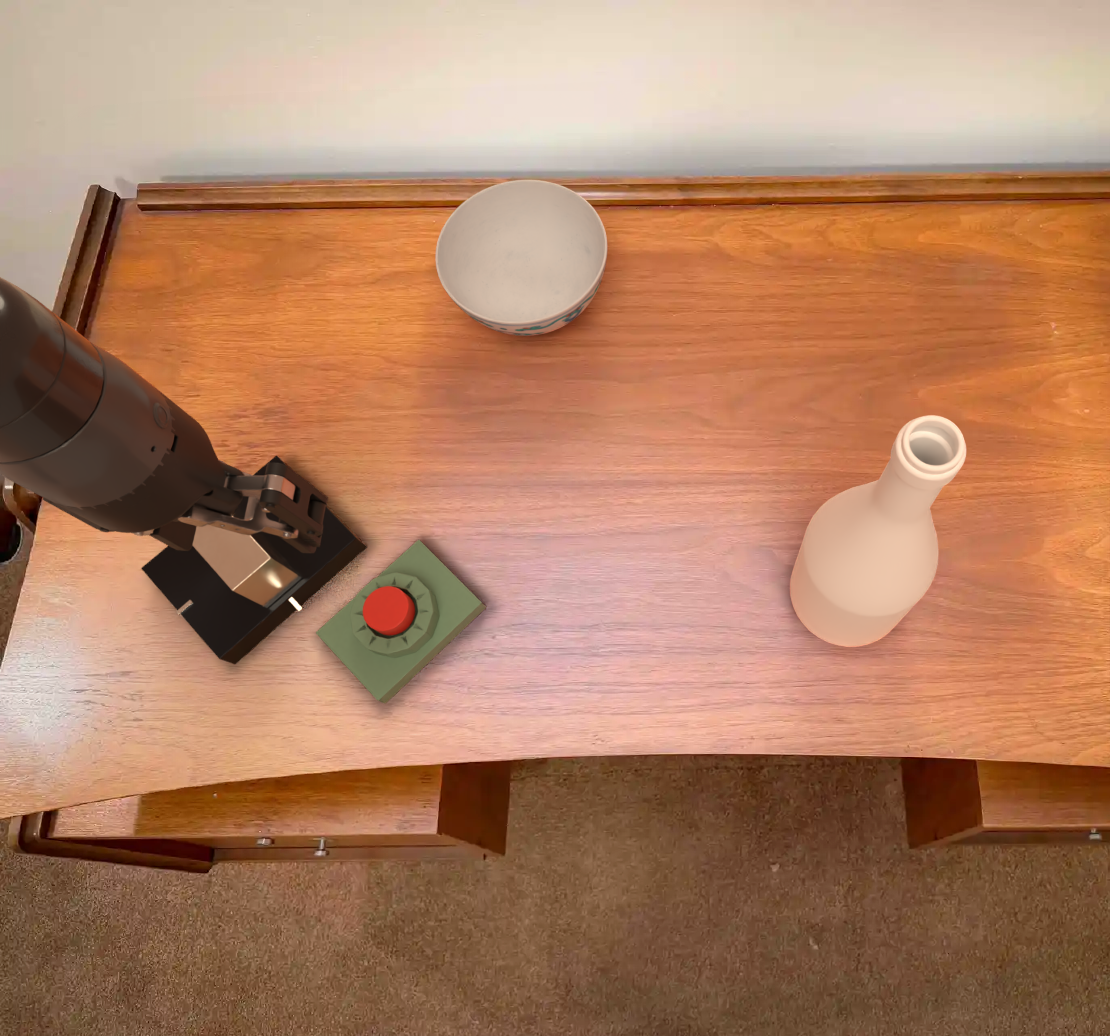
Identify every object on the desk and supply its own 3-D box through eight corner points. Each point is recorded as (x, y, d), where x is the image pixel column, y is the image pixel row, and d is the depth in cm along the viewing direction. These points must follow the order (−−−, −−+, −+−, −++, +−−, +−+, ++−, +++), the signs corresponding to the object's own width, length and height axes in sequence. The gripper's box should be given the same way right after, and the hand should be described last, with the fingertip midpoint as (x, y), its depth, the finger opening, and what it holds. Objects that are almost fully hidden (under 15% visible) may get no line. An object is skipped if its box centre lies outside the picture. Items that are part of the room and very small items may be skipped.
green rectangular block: (385, 704, 70) (369, 698, 67) (323, 637, 72) (305, 627, 69) (486, 607, 73) (476, 597, 69) (424, 545, 75) (411, 532, 71)
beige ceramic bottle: (792, 651, 71) (849, 532, 43) (785, 540, 74) (834, 362, 46) (908, 648, 71) (1042, 527, 43) (896, 538, 74) (1014, 357, 46)
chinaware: (427, 321, 82) (400, 272, 75) (520, 211, 86) (503, 154, 79) (556, 396, 79) (541, 352, 72) (646, 277, 83) (640, 225, 76)
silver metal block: (302, 577, 71) (269, 556, 66) (267, 608, 70) (230, 590, 65) (231, 499, 74) (193, 472, 68) (195, 528, 73) (154, 503, 67)
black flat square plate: (245, 679, 71) (229, 673, 68) (146, 565, 74) (127, 555, 72) (380, 558, 74) (368, 548, 72) (279, 454, 78) (265, 441, 75)
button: (390, 645, 69) (382, 640, 67) (361, 614, 69) (352, 609, 68) (424, 612, 69) (417, 607, 68) (395, 582, 70) (388, 576, 69)
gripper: (-68, 502, 43) (135, 589, 58) (216, 507, 43) (345, 593, 58) (-22, 368, 45) (161, 485, 61) (247, 372, 45) (363, 489, 60)
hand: (251, 538), depth 59 cm, fingers open, 8 cm apart
